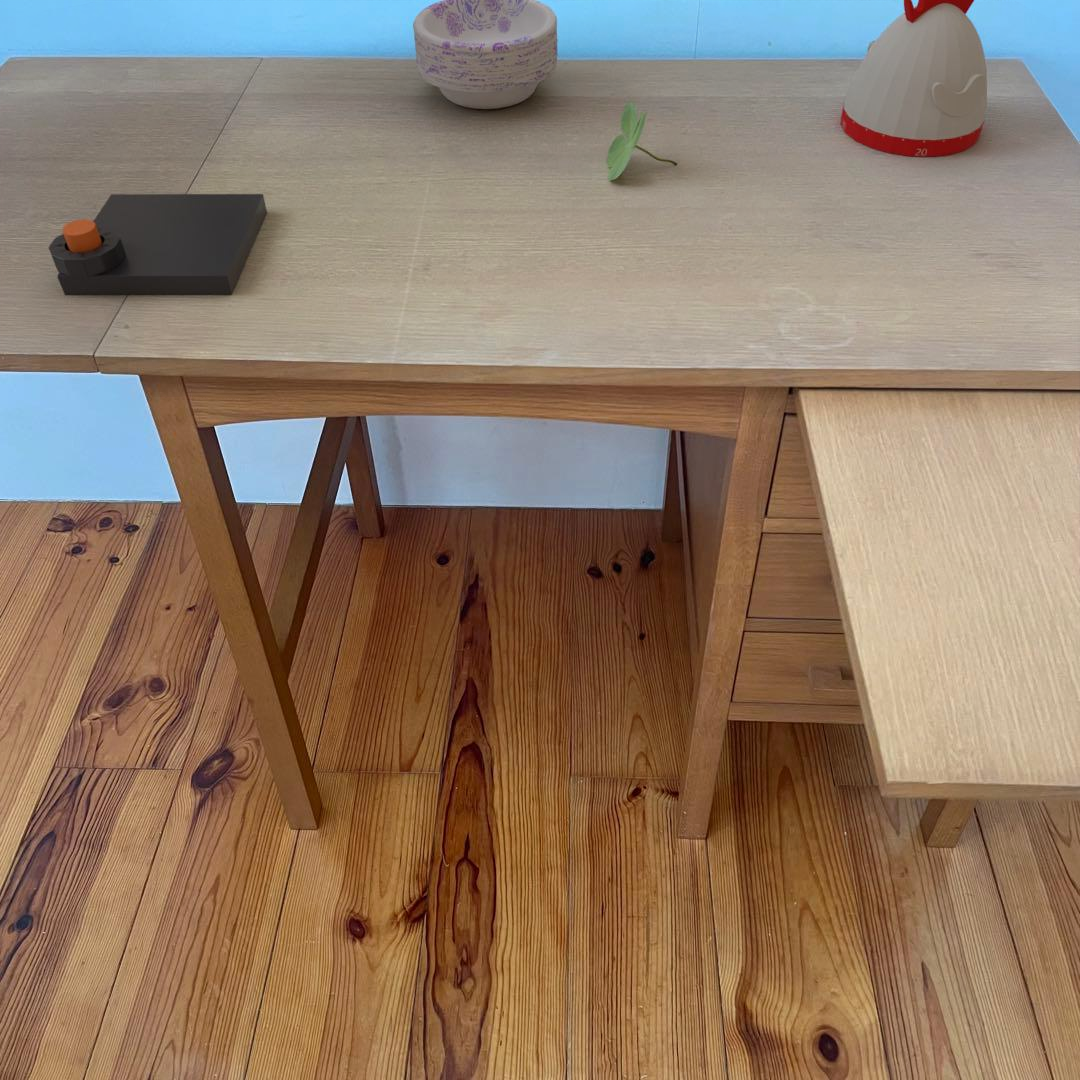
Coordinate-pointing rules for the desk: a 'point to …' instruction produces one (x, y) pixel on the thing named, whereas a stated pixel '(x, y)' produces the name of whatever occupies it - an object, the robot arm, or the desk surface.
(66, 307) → the desk surface
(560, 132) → the desk surface
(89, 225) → the button
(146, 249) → the scale
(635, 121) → the seedling
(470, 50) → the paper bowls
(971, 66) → the kitchen timer
